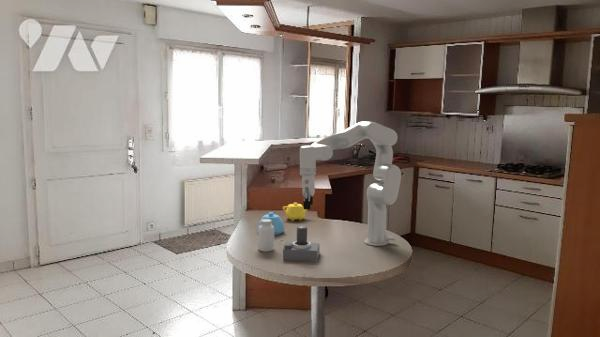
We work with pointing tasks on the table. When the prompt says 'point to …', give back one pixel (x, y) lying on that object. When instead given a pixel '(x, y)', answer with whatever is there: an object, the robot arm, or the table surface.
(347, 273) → the table surface
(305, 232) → the lens
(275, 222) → the sugar bowl
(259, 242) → the pill bottle
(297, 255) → the camera body
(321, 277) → the table surface
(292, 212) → the teapot
